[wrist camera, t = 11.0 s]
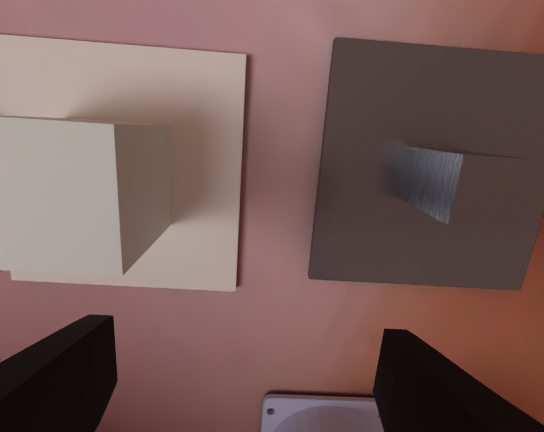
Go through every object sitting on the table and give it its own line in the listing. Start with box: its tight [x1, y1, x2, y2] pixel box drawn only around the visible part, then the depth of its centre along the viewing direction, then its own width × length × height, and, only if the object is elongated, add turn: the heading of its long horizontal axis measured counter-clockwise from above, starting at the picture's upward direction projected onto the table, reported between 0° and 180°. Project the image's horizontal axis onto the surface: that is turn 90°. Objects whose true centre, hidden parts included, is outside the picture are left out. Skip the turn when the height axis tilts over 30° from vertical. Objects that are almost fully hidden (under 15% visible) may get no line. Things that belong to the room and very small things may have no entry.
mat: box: [0, 34, 247, 292], centre depth 16 cm, size 12×12×1 cm
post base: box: [308, 37, 544, 290], centre depth 15 cm, size 12×12×4 cm
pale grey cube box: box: [0, 115, 171, 276], centre depth 13 cm, size 5×5×6 cm
